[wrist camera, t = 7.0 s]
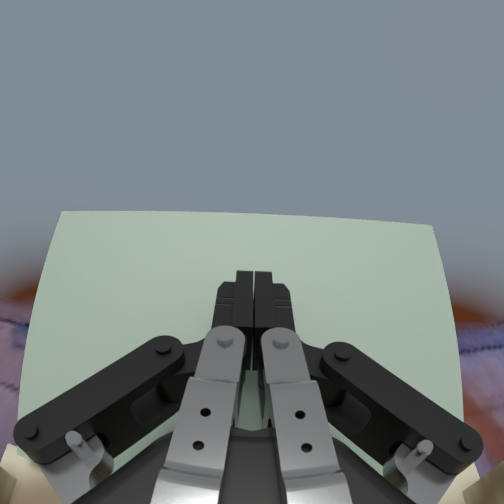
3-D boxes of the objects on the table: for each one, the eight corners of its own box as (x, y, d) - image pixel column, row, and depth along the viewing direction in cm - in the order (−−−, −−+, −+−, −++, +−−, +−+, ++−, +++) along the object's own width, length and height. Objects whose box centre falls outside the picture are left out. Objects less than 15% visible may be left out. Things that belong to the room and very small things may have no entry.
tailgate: (462, 466, 10) (431, 225, 17) (17, 454, 10) (62, 211, 16) (440, 464, 12) (416, 242, 19) (38, 453, 11) (75, 230, 18)
